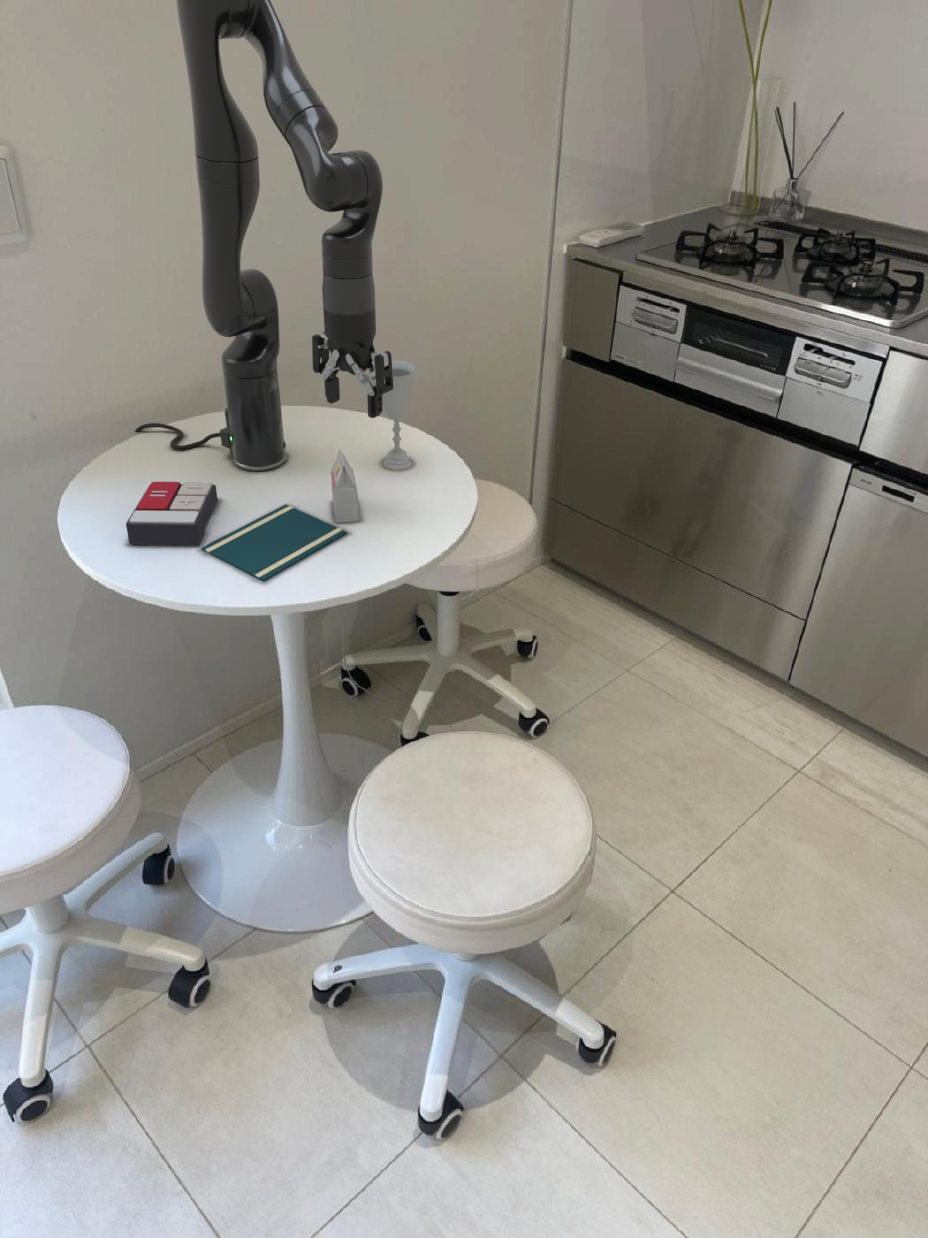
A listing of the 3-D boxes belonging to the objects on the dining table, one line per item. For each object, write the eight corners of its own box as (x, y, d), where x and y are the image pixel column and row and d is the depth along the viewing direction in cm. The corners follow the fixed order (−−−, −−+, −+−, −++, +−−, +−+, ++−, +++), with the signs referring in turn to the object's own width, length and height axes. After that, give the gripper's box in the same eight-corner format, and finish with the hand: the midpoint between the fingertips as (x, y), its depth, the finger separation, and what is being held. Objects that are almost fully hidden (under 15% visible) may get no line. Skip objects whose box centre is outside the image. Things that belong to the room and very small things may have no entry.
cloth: (201, 549, 149) (201, 547, 149) (285, 506, 161) (285, 503, 160) (263, 581, 142) (263, 579, 142) (347, 533, 154) (346, 531, 154)
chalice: (410, 474, 171) (409, 378, 160) (373, 470, 172) (370, 374, 161) (420, 456, 177) (420, 362, 166) (384, 452, 178) (382, 358, 167)
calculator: (215, 479, 160) (195, 520, 147) (218, 503, 162) (199, 545, 150) (149, 478, 160) (124, 519, 147) (153, 502, 162) (128, 544, 149)
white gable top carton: (354, 501, 163) (352, 447, 157) (358, 521, 157) (356, 466, 151) (332, 502, 162) (329, 448, 156) (336, 522, 157) (332, 467, 151)
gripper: (403, 308, 137) (404, 413, 147) (331, 287, 144) (336, 389, 154) (368, 321, 132) (372, 429, 142) (295, 299, 139) (303, 404, 149)
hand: (353, 408), depth 148 cm, fingers open, 8 cm apart
